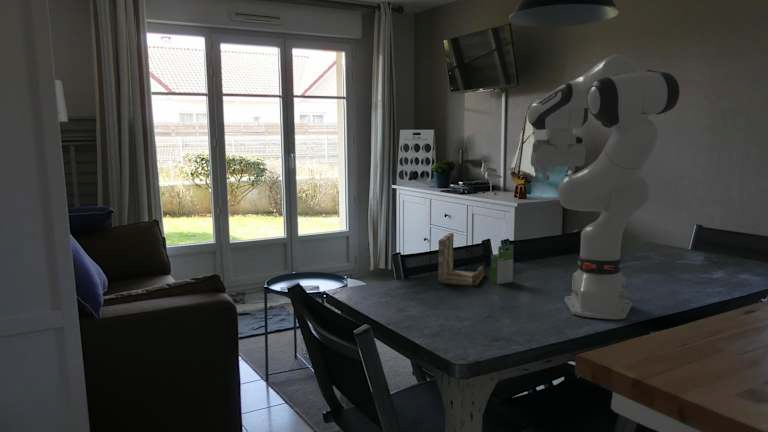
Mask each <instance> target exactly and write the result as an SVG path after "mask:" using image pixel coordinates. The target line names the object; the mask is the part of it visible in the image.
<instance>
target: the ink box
mask: <svg viewBox="0 0 768 432" xmlns="http://www.w3.org/2000/svg"><path fill="white" fill-rule="evenodd" d="M497 248H498V251H497V252H498V253H495V254H494V253H493V254H491V255H490V278H489V279H490V280H489V281H490V283H491V284H494V285H502V284H508V283H513V282H514V281H513V280H514V278H513V277H514V244H506V245H499V246H498V247H497ZM504 249H509V250H505V251H503V250H504Z"/></svg>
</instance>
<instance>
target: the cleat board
mask: <svg viewBox="0 0 768 432" xmlns="http://www.w3.org/2000/svg"><path fill="white" fill-rule="evenodd" d="M454 235H455V233H453V232H449V233H447V234H446V235H444V236H443V237H442V238H440V239H438V263H437V264H438V265H437V266H438V267H437V269H438V273H437V274H438V276H437V278H438V279H437V281H438V283H437V284H446V285H447V284H448V285H459V286H470V287H477V285H478V284H479V283H480V282H481V281H482V279H483V277H484V276H485V272H484V271H485V266H484V265H479V267H478V268H477V269H476V270H475V271H466V270H456V269H455V270H454V237H455V236H454Z"/></svg>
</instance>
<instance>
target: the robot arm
mask: <svg viewBox="0 0 768 432" xmlns="http://www.w3.org/2000/svg"><path fill="white" fill-rule="evenodd" d="M680 92H681V89H680V84H679V82H678V80H677V79H676V77H675V76H674V75H673V74H671V73H669V72H665V71H659V70H653V69H647V70H646V71H642V72H640V71H637V69H636V65H635V63H634V62H633V60H632V59H631V58H630V57H627V56H626V55H623V54H614V55H610V56H607V57H606V58H603V59H602V60H601V61H599V62H598V63H596V64H594V65H593V67H591V68H590V69H589V70H588V71H586V72H585V73H583V74H582V75H580V76H579V77H576V78H574V79H573V80H570V81H569V82H566V83H564V84H562V85H560V86H558V87H556V88H555V89H553V90H552V91H551V92H550V93H548V94H546V95H545V96H544V97H536V99H534V101H532V102H531V104H529V107H528V110H527V119H528V120H527V121H528V122H529V124H530V125H531V126H532V127H533V128H534V129H535V130H536V131H543V130H544V131H545V136H544V137H545V138H544V139H536V140H534V142H533V143H532V148H531V149H532V151H531V155H530V166H531V167H532V168H539V172H540V174H541V175H542V181H547V182H548V181H550V175H548V173H547V171H548V168H555V167H556V168H557V167H558V168H560V167H561V168H562V167H567V169H568V171H567V174H565V175H564V177H563V178H562V179H561V181H560V183H559V185H558V188H557V197H558V200H559V202H560V204H561V206H563V207H564V208H565V209H568V210H573V211H579V212H601V213H600V215H599V217H598V218H597V220H595V221H594V222H591V223H590V224H588V225H586V226H585V227H584V228H583V229H582V231H581V233H580V250H579V255H578V259H577V268H578V269H577V270H576V271H575V272H574V273H572V281H571V290H570V293H571V295H568V296H567V295H566V296H564V302H565V304H566V306H567V307H568V309H569V311H570V312H571V314H572V315H575V316H580V317H585V318H591V319H592V318H594V319H603V320H625V319H627V316H628V315H629V313H630V311H631V308H632V306H633V302H632V301H628V293H629V292H628V291H626V290H627V289H628V288H627V287H628V284H626V277H625V276H624V275H623V274H622V273H621V271H622V258H621V248H622V241H623V239H622V238H623V233H624V230H625V227H626V226H627V224H628V222H629V220H630V219H631V217H632V216H633V215H634V214H635V213H636V212H638V211H639V210H640V209H642V208H643V207H644V206H646V204H647V202H648V200H649V198H650V194H651V193H650V186H649V183H648V181H646V179H645V178H644V177H643V176H640V175H639V174H640V173H641V171H642V170H643V168H644V167H645V166H646V164H647V162H648V161H649V159H650V157H651V155H652V153H653V152H654V149H655V146H656V143H657V140H658V137H659V131H658V128H657V126H656V124H655V123H654V122H653V120H650V118H649V117H650V116H653V115H657V116H658V115H661V114H665V113H668V112H669V111H671V110H673V109H674V108H675V107H676V106H677V103H678V101H679V99H680ZM589 113H590V114H591V115H592V117H593V118H594V119H595V120H596V121H598V122H599V123H600V124H601V126H603V127H604V128H608V129H611V128H612V133H611V135H610V137H609V139H608V140H607V142H606V144H605V146H604V148H602V149H603V150H602V151H601V153H600V154H599V156H598V157H597V158H596V160H594V161H593V162H592V163H591V164H589V165H588V166H587V167H585V168H583V169H581V170H579V171H578V172H575V170H576V167H583V166H584V165H585V163H586V148H585V143H586V139H585V138H584V137H583V136H580V135H578V134H576V133H573V132H574V129H575V130H576V129H579V128H582V127H583V126H584V125H585V124H587V122H588V119H589Z"/></svg>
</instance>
